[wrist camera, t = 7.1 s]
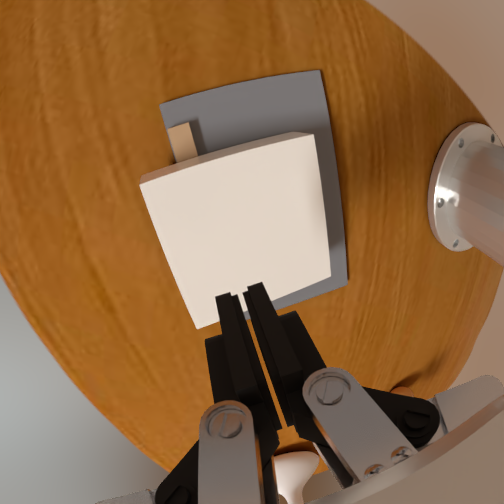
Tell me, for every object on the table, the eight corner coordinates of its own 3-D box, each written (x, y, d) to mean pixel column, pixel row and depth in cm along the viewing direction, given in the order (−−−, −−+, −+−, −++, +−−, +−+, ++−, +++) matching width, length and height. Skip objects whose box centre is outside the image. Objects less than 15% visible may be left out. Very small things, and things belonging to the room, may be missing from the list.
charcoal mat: (316, 70, 15) (323, 69, 15) (345, 282, 23) (351, 288, 22) (159, 104, 15) (158, 104, 14) (230, 320, 23) (232, 329, 22)
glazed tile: (141, 174, 15) (291, 131, 17) (190, 304, 19) (311, 258, 21) (139, 184, 13) (313, 134, 14) (196, 329, 17) (331, 276, 19)
